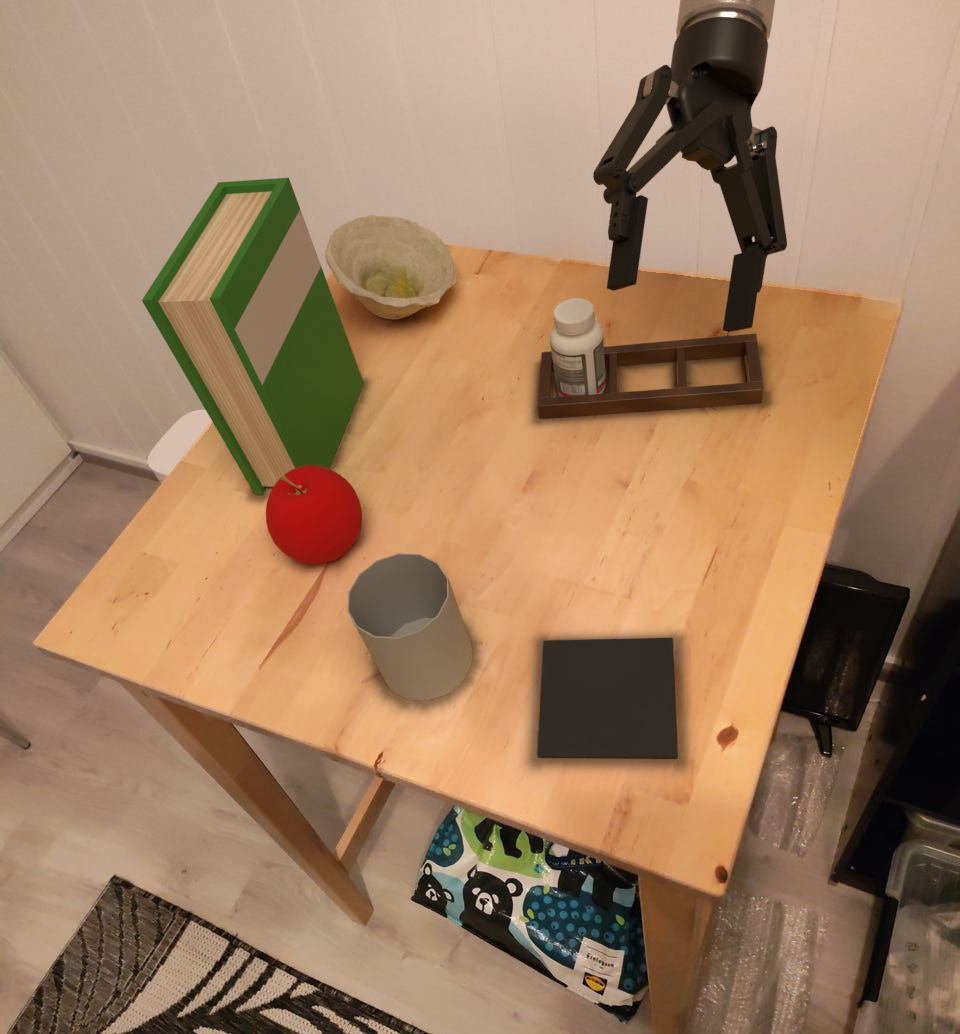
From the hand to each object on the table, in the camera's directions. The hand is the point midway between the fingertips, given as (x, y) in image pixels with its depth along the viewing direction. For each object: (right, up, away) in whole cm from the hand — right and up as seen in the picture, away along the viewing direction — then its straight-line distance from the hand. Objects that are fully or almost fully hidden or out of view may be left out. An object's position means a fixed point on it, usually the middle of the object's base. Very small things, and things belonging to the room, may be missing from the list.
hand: (682, 309), depth 70 cm
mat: (-6, -33, -1) cm, 33 cm away
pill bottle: (-6, -1, +20) cm, 21 cm away
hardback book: (-36, -5, +23) cm, 43 cm away
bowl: (-26, +13, +33) cm, 44 cm away
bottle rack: (+1, -1, +18) cm, 19 cm away
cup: (-22, -30, +4) cm, 37 cm away
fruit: (-32, -18, +14) cm, 40 cm away
